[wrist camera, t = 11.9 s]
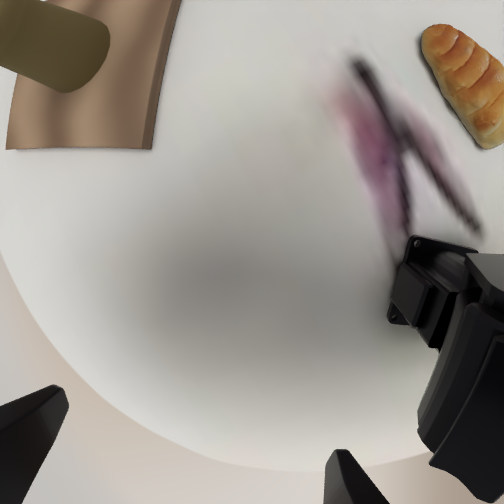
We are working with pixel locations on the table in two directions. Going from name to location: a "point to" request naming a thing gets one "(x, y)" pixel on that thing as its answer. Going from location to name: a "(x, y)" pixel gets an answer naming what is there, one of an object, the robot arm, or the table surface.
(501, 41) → the table surface
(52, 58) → the olive rounded upright piece
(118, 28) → the walnut board
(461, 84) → the pastry
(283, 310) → the table surface
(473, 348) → the robot arm
